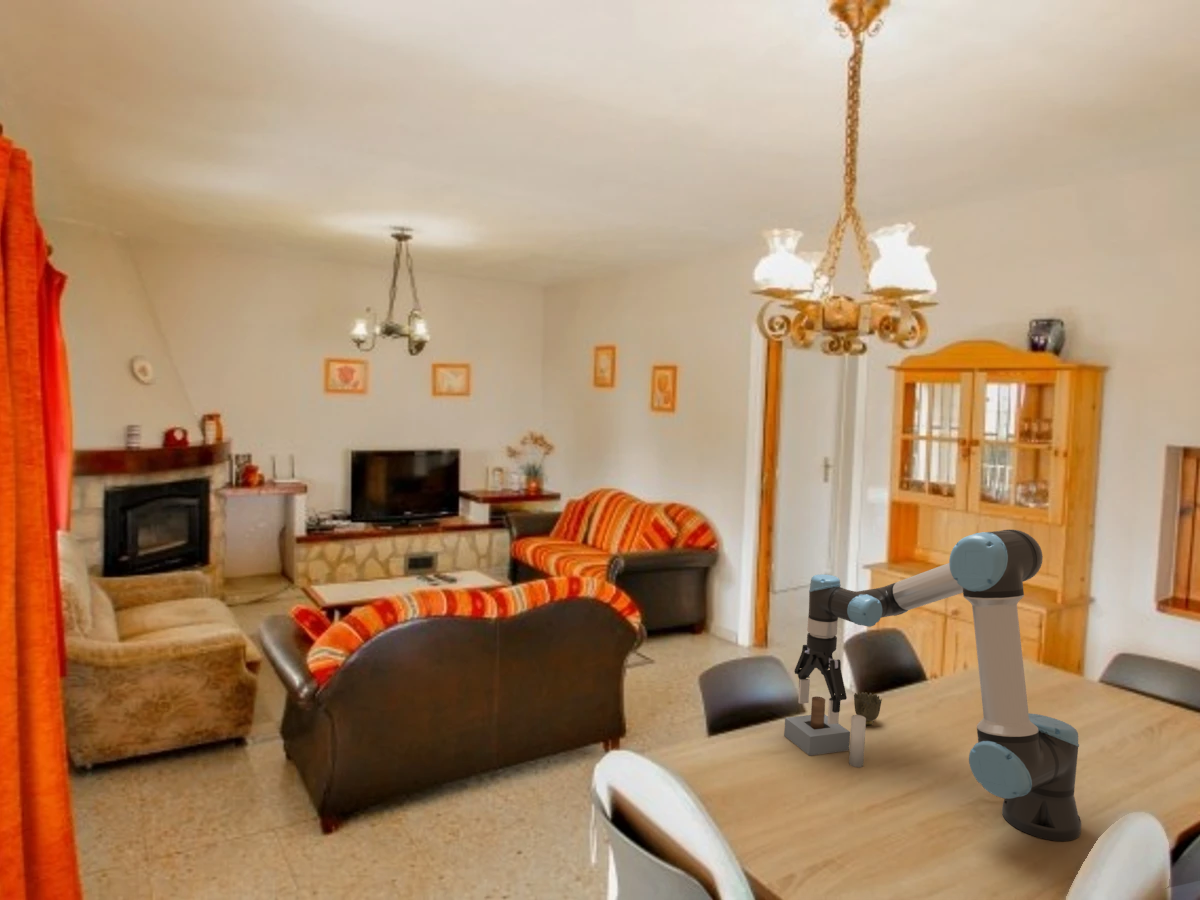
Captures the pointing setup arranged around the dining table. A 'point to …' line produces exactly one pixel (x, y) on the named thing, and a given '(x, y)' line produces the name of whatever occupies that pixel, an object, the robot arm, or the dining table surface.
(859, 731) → the pale grey cylinder
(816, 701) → the walnut peg
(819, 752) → the socket block
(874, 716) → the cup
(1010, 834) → the dining table surface
